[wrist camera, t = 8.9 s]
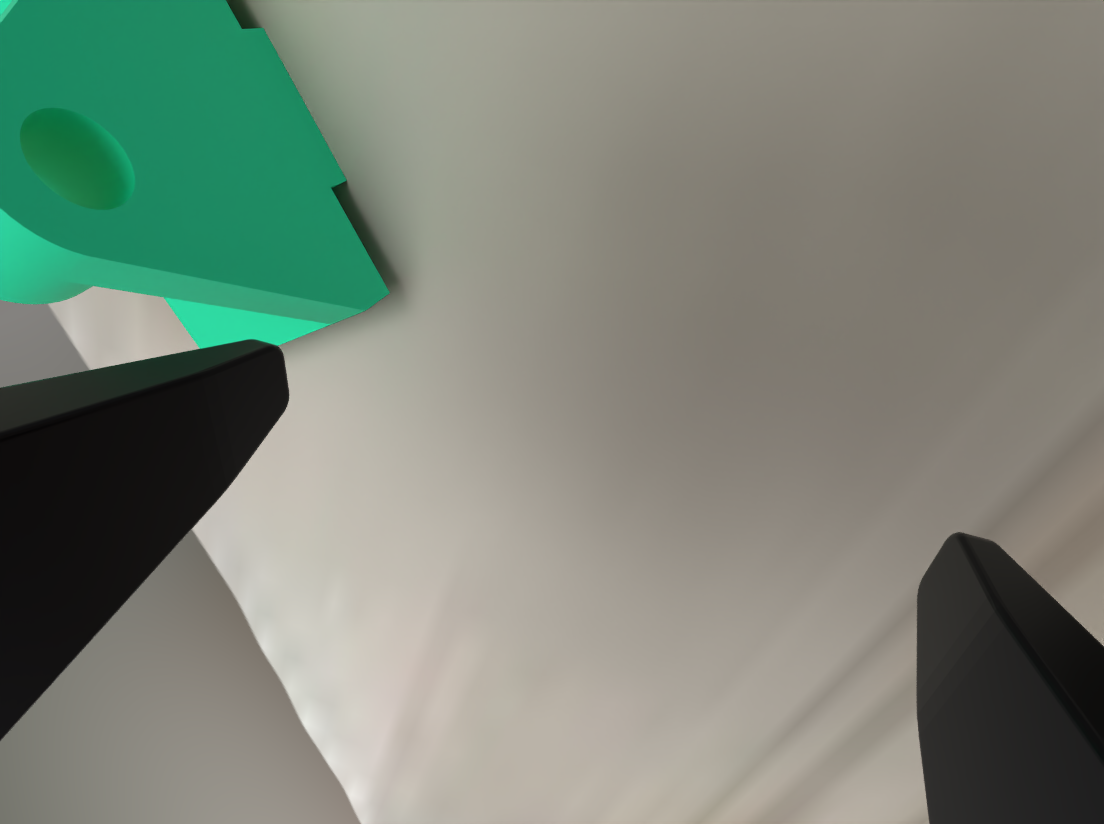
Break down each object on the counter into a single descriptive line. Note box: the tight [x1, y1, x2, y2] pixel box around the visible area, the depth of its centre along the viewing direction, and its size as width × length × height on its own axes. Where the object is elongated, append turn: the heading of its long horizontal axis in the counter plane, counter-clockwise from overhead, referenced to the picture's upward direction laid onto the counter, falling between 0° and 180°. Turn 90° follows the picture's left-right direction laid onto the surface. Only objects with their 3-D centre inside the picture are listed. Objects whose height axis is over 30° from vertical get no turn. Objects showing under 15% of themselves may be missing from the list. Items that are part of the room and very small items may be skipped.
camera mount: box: [0, 0, 390, 349], centre depth 18 cm, size 12×8×10 cm, turn 26°
